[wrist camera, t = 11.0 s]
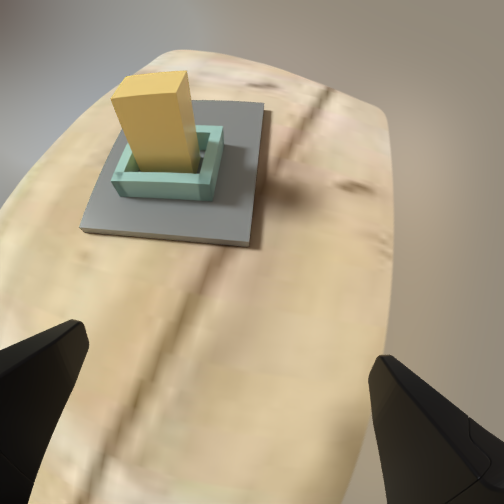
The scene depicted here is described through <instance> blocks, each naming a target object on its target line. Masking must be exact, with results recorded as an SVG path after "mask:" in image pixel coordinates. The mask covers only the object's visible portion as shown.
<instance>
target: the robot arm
mask: <svg viewBox="0 0 504 504" xmlns="http://www.w3.org/2000/svg"><path fill="white" fill-rule="evenodd" d="M88 349H89V340H88V337H87V333H86V330H85V326H84V324H83V323H82V322H81V321H77V320H73V319H71V320H69V321H66V322H64V323H62V324H59V325H57V326H55V327H52V328H50V329H48V330H46V331H43V332H41V333H39V334H36V335H34V336H32V337H30V338H27V339H25V340H23V341H20V342H18V343H16V344H14V345H11V346H9V347H7V348H5V349H2V350H0V504H28V501H29V498H30V494H31V491H32V488H33V485H34V482H35V479H36V476H37V473H38V470H39V468H40V465H41V462H42V459H43V457H44V454H45V452H46V449H47V447H48V444H49V442H50V439H51V437H52V434H53V432H54V430H55V427H56V425H57V423H58V420H59V418H60V416H61V414H62V411H63V409H64V407H65V405H66V403H67V401H68V398H69V396H70V394H71V392H72V390H73V388H74V386H75V383H76V380H77V378H78V375H79V372H80V370H81V367H82V364H83V362H84V359H85V357H86V354H87V352H88ZM368 383H369V391H370V400H371V409H372V419H373V425H374V431H375V435H376V440H377V445H378V450H379V456H380V461H381V467H382V472H383V478H384V484H385V491H386V498H387V504H504V442H503V441H501V440H500V439H499V438H497V437H496V436H494V435H493V434H491V433H490V432H488V431H487V430H485V429H484V428H483V427H482V426H480V425H479V424H478V423H476V422H475V421H474V420H473V419H471V418H470V417H469V418H468V415H466V414H465V413H464V412H463V411H461V410H460V409H459V408H458V407H456V406H455V405H454V404H452V403H451V402H450V401H449V400H448V399H446V398H445V397H444V396H443V395H441V394H440V393H439V392H437V391H436V390H435V389H434V388H432V387H431V386H430V385H429V384H427V383H426V382H425V381H424V380H422V379H421V378H420V377H419V376H417V375H416V374H415V373H413V372H412V371H411V370H410V369H408V368H407V367H406V366H405V365H403V364H402V363H401V362H400V361H398V360H397V359H396V358H394V357H393V356H391V355H379V356H378V357H377V358H376V360H375V363H374V365H373V367H372V369H371V371H370V374H369V378H368Z"/></svg>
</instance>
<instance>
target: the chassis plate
mask: <svg viewBox="0 0 504 504" xmlns="http://www.w3.org/2000/svg"><path fill="white" fill-rule="evenodd" d="M191 102H192V108H193V114H194V120H195V127H196V133H197V139H198V144H199V150H200V156H201V158H200V162H199V166H198V170H197V174H192V173H165V172H141V171H140V169H139V167H138V164H137V162H136V160H135V157H134V155H133V153H132V151H131V148H130V146H129V143H128V141H127V139H126V136H125V134H124V131H123V129H122V130H121V132H120V134H119V136H118V138H117V139H116V141H115V143H114V145H113V147H112V149H111V151H110V154H109V156H108V158H107V160H106V162H105V164H104V166H103V169H102V171H101V173H100V175H99V178H98V180H97V182H96V184H95V187H94V189H93V192H92V194H91V197H90V199H89V202H88V204H87V207H86V209H85V212H84V215H83V218H82V220H81V223H80V226H79V228H80V229H81V230H82V231H83V232H88V233H100V234H111V235H122V236H134V237H145V238H156V239H167V240H178V241H189V242H200V243H211V244H222V245H233V246H243V247H249V242H250V232H251V223H252V213H253V204H254V195H255V185H256V176H257V167H258V158H259V149H260V139H261V130H262V121H263V112H264V103H256V102H241V101H215V100H191Z"/></svg>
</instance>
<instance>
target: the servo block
mask: <svg viewBox="0 0 504 504" xmlns="http://www.w3.org/2000/svg"><path fill="white" fill-rule="evenodd" d="M111 101H112V104H113V106H114V109H115V112H116V114H117V117H118V119H119V122H120V124H121V127H122V129H123V131H124V134H125V136H126V139H127V141H128V143H129V146H130V148H131V151H132V153H133V155H134V157H135V160H136V162H137V164H138V167H139V169H140V171H141V172H165V173H192V174H197V170H198V166H199V162H200V158H201V156H200V150H199V144H198V139H197V133H196V127H195V120H194V114H193V108H192V102H191V95H190V89H189V82H188V75H187V71H171V72H159V73H149V74H140V75H133V76H126V77H125V78H124V80H123V81H122V83H121V84H120V85H119V87H118V88H117V90H116V91H115V93H114V94H113V96H112V97H111Z"/></svg>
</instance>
